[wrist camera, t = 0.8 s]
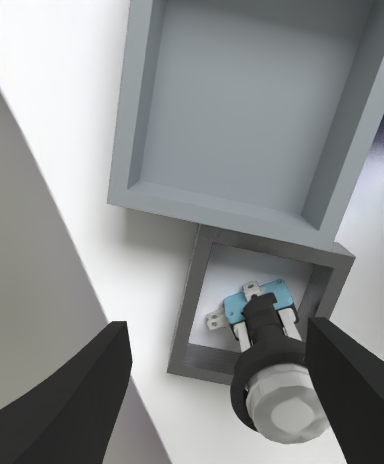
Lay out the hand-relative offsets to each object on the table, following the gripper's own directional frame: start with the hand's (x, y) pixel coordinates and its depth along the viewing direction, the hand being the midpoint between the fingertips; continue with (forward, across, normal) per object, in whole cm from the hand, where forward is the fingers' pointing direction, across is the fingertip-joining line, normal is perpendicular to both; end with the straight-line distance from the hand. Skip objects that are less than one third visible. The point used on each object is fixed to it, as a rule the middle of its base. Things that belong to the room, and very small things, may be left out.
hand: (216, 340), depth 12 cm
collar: (+10, -3, +5) cm, 12 cm away
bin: (+10, -2, -10) cm, 14 cm away
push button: (+10, -3, +5) cm, 12 cm away
